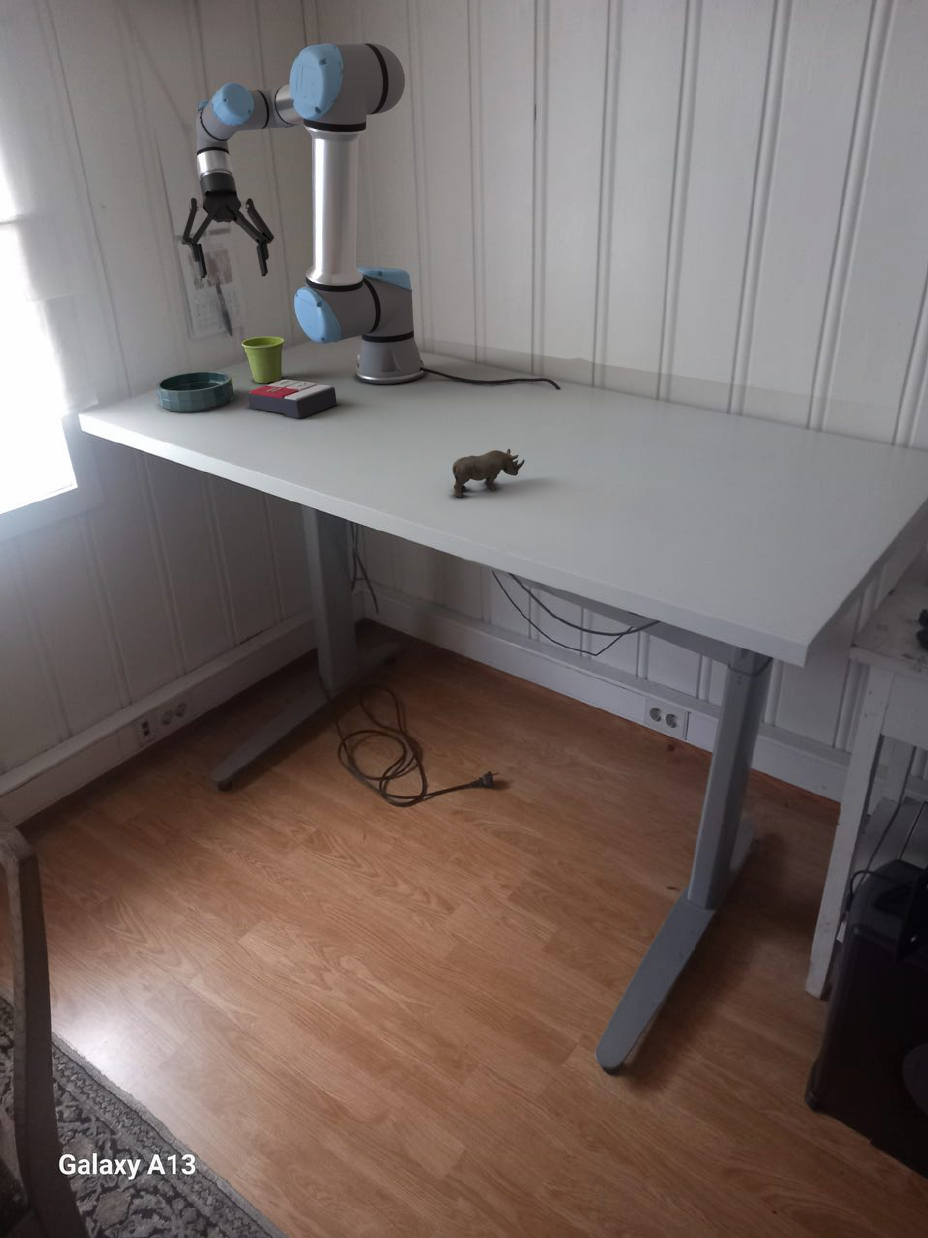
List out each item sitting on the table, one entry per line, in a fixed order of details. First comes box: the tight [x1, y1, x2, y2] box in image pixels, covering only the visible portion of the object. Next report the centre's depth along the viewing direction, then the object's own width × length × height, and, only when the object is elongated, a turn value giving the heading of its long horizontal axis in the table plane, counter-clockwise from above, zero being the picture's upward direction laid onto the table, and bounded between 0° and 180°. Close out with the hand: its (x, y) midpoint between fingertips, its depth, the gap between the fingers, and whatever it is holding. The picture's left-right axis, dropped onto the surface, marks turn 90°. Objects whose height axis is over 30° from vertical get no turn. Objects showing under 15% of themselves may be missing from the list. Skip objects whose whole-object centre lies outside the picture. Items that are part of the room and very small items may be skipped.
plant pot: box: [241, 335, 285, 384], centre depth 216 cm, size 9×9×9 cm
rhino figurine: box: [452, 448, 526, 498], centre depth 155 cm, size 4×14×6 cm, turn 119°
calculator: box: [246, 379, 338, 419], centre depth 198 cm, size 11×4×15 cm
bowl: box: [155, 370, 235, 413], centre depth 204 cm, size 15×15×4 cm
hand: (235, 275), depth 213 cm, fingers open, 13 cm apart
